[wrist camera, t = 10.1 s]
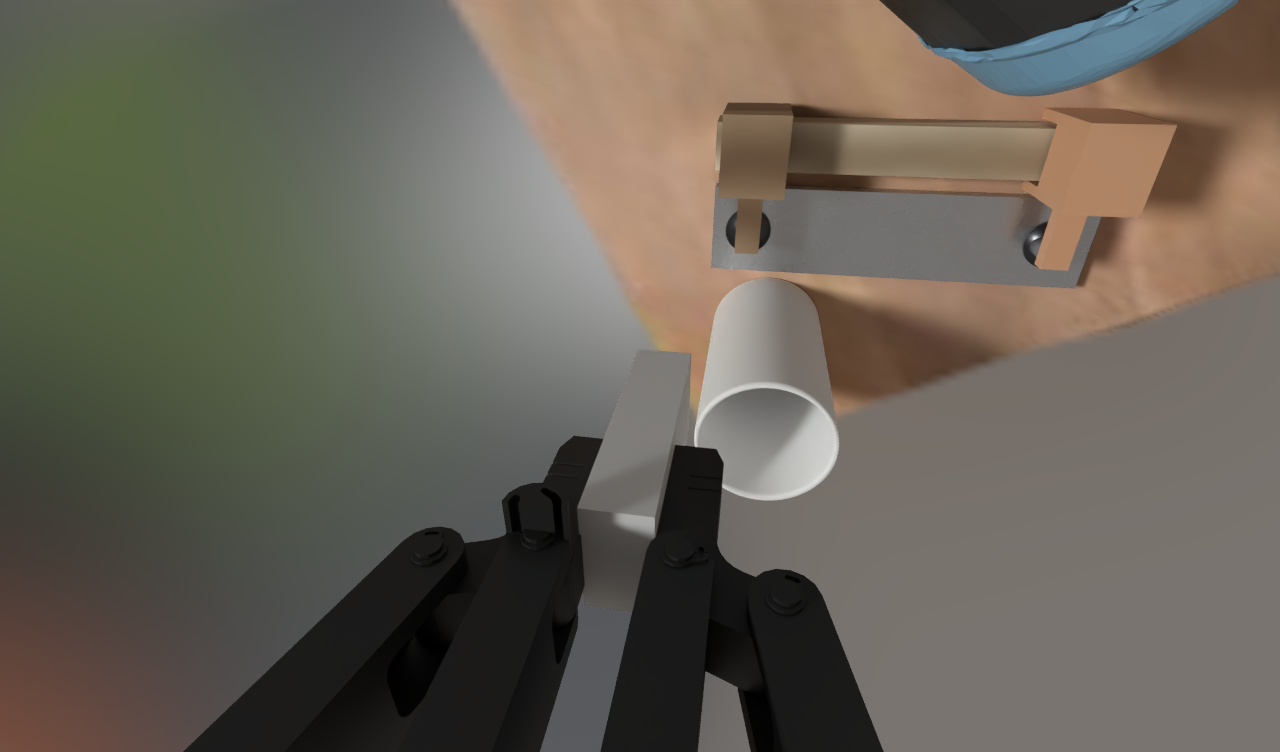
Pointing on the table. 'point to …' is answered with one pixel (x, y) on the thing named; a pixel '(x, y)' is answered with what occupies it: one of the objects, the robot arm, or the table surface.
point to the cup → (768, 393)
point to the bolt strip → (899, 236)
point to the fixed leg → (754, 163)
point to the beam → (917, 147)
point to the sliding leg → (1094, 174)
